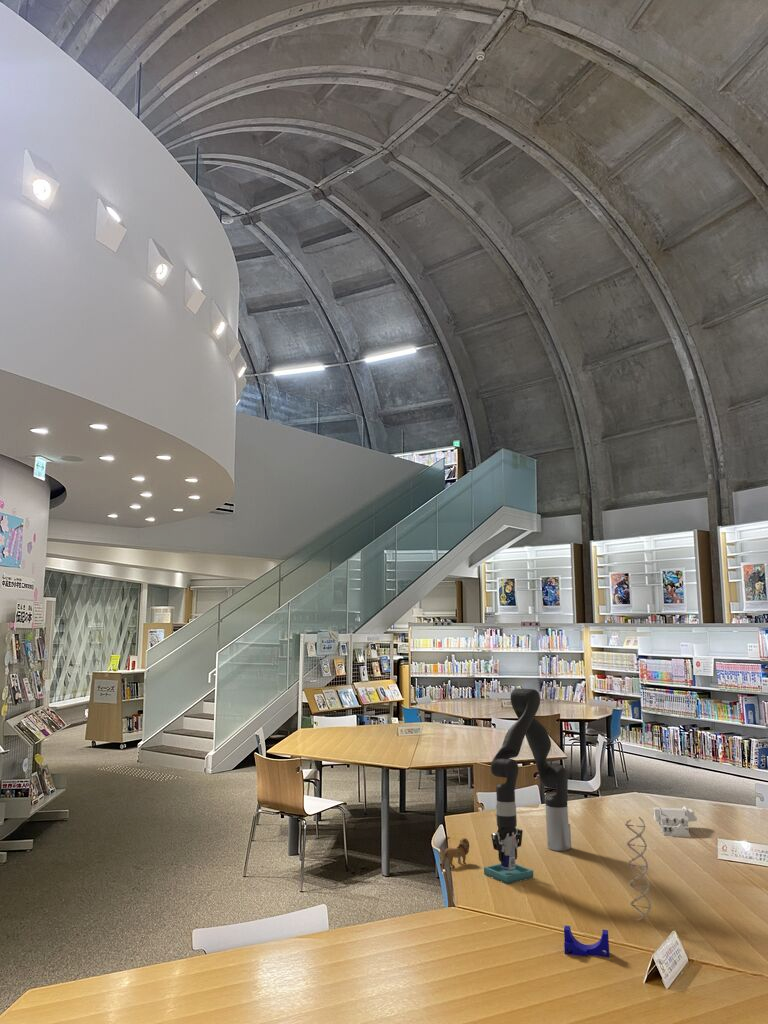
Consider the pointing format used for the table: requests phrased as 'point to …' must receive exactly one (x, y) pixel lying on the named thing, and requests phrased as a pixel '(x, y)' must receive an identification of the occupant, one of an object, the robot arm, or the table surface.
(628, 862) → the dna model
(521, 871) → the tray
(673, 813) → the house model
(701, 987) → the table surface
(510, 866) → the energy drink
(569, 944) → the blue curved block
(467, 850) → the lion figurine
